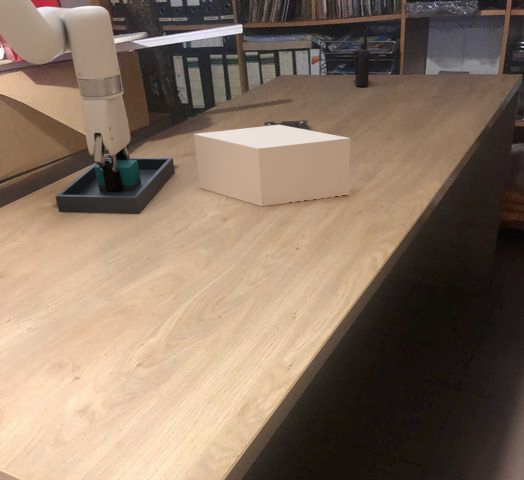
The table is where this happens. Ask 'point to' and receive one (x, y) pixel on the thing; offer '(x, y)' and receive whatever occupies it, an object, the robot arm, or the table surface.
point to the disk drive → (290, 124)
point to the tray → (101, 201)
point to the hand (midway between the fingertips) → (119, 185)
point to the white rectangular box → (273, 164)
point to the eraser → (122, 175)
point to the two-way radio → (362, 63)
